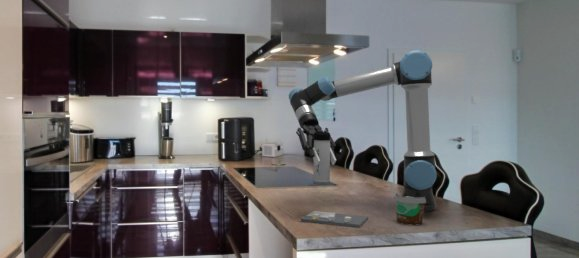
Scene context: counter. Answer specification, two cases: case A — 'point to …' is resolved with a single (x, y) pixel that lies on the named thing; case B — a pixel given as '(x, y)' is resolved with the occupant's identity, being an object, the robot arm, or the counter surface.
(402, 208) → the food container
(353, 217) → the breaker panel
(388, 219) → the counter surface
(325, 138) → the travel mug
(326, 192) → the counter surface
